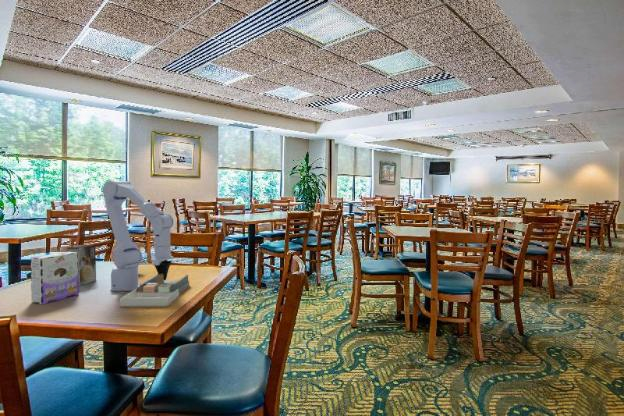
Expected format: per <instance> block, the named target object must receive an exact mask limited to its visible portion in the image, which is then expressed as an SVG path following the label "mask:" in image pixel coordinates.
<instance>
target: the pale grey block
mask: <svg viewBox="0 0 624 416" xmlns="http://www.w3.org/2000/svg"><path fill="white" fill-rule="evenodd" d="M156 275H157V283H146V285H147V284H158V287H159V286H160V285H162V284H175V283H164V281H165V280H164V273H158V272H157V274H156Z"/></svg>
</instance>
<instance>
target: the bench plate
mask: <svg viewBox="0 0 624 416" xmlns="http://www.w3.org/2000/svg"><path fill="white" fill-rule="evenodd" d="M146 283H157V274H155V275H153V276H152V277H150V278H149V279H147V280H145V281H144V282H142V283H141V284H139V285H140V287H139V291H138V293H144V292H143V287H144V286H146ZM164 283H175V284H173V290H171V291H170V292H174V291H176V290H177V289H179V295H180V294H181V293H182V292H183V291H185V290H186V289H187V288H188V287H189V286H190V280H189V274H185V275H184V276H183V277H182V278H180V279H178V280H164ZM155 292H158V290H157V291H155Z"/></svg>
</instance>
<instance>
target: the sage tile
mask: <svg viewBox="0 0 624 416" xmlns="http://www.w3.org/2000/svg"><path fill="white" fill-rule="evenodd" d="M171 290H173V284H162V285H160V286H159V287H158V292H170V291H171Z"/></svg>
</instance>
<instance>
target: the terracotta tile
mask: <svg viewBox="0 0 624 416" xmlns="http://www.w3.org/2000/svg"><path fill="white" fill-rule="evenodd" d="M157 290H158V284H147V285H146V286H144V287H143V292H155V291H157Z"/></svg>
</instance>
